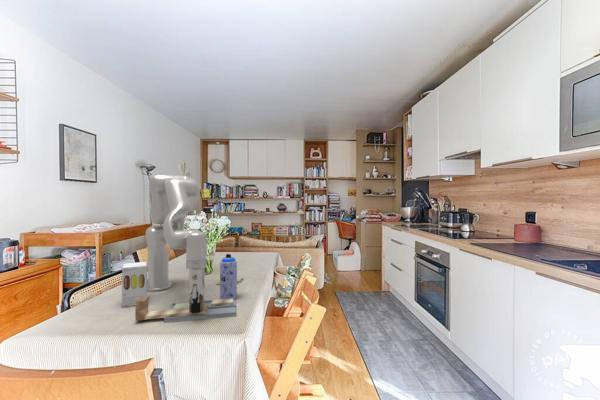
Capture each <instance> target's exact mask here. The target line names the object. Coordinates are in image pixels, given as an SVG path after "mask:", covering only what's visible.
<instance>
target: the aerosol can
mask: <svg viewBox="0 0 600 400" xmlns="http://www.w3.org/2000/svg"><path fill="white" fill-rule="evenodd" d="M237 268H238V261H237V259H236V258H235V257H233V256H232V254H231V253H226V254H225V257H224V258H222V259H221V260H219V284H220V285H219V300H220V299H233V298H235V300H236V299H237V298H238V290H237V289H238V287H237V286H238V284H237V281H238V269H237Z"/></svg>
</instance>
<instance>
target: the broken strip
mask: <svg viewBox="0 0 600 400" xmlns="http://www.w3.org/2000/svg"><path fill="white" fill-rule="evenodd" d="M211 300H212V301H211V307H213V306H225V305H233V299H221V300H220V299H211Z"/></svg>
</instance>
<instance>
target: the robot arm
mask: <svg viewBox="0 0 600 400" xmlns="http://www.w3.org/2000/svg"><path fill="white" fill-rule="evenodd" d="M148 185H149V189H150V194H151V206H150V207H151V208H150V221H151V222H152V224H155V225H153V226H149V227H148V228H147V229H146V230H145V239H146V247H147V292H156V291H163V290H167V289H170V288H172V286H173V283H172V282H171V281H169V279H170V277H169V272H170V271H169V270H170V269H169V265H170V263H169V260H170V258H169V256H170V255H169V250H171V251H175V250H176V251H179V250H184V249H185V260H186V261H185V266H186V267H185V268H186V270H188V271H189V272H188V273H189V274H188V277H189V278H188V279H189V280H188V284H189V286H188V287H189V288H188V291H189V295H190V296H192V302H191V313H200V302H199V298H200V295H204V292H205V289H206V283H205V269H206V268H207V266H208V265H207V263H208V262H207V261H208V260H207V258H208V256H207V255H208V254H207V253H208V252H207V246H208V245H207V233H206V232H204V231H201V230H199V229H195V228H194V229H185V228H184V227H185V220H186V219H185V218H186V215H187V214H189V213H190V212H191V210H192V205H191V201H190V199H189V198H196V197H198V196H199V194H200V186H199V183H198V182H197V180H195V178H193V177H190V176H188V175H179V174H178V175H177V174H161V173H160V174H159V173H157V174H154V175H151V177H149V183H148ZM164 244H166V247H165V246H164ZM167 248H168V249H167ZM197 296H198V297H197Z"/></svg>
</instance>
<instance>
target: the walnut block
mask: <svg viewBox="0 0 600 400" xmlns="http://www.w3.org/2000/svg"><path fill="white" fill-rule="evenodd" d="M197 297H198V296H197ZM204 297H205V296H204V294H202V295H200V298H199V302H200V312H202V311H203V307H204V301H205V300H204V299H205V298H204ZM188 302H189V313H191V302H192V295H190V298H189V301H188Z"/></svg>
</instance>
